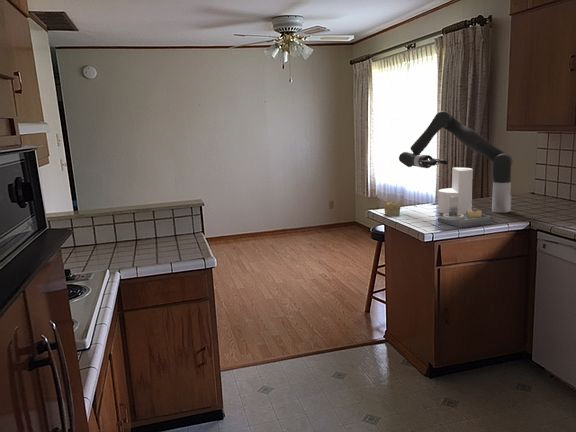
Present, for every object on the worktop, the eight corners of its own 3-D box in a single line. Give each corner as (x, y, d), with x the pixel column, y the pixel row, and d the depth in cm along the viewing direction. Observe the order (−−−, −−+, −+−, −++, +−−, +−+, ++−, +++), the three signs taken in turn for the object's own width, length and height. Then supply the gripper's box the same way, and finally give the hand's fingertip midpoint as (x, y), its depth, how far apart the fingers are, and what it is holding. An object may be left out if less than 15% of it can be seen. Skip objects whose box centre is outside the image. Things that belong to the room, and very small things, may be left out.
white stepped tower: (469, 208, 285) (470, 167, 281) (473, 214, 268) (475, 170, 263) (436, 208, 290) (437, 167, 285) (439, 214, 272) (439, 171, 267)
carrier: (467, 216, 263) (468, 203, 261) (491, 222, 246) (492, 208, 244) (437, 220, 256) (438, 207, 255) (460, 227, 239) (460, 212, 238)
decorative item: (394, 222, 274) (405, 208, 272) (380, 212, 275) (391, 198, 272) (393, 219, 283) (404, 206, 281) (380, 209, 284) (390, 196, 281)
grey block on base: (453, 216, 257) (454, 195, 254) (462, 218, 250) (463, 197, 248) (443, 217, 254) (444, 196, 252) (451, 219, 248) (452, 198, 246)
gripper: (413, 155, 274) (430, 157, 259) (433, 154, 279) (451, 155, 264) (412, 168, 276) (430, 170, 261) (433, 166, 280) (451, 168, 265)
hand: (440, 163), depth 262 cm, fingers open, 8 cm apart
